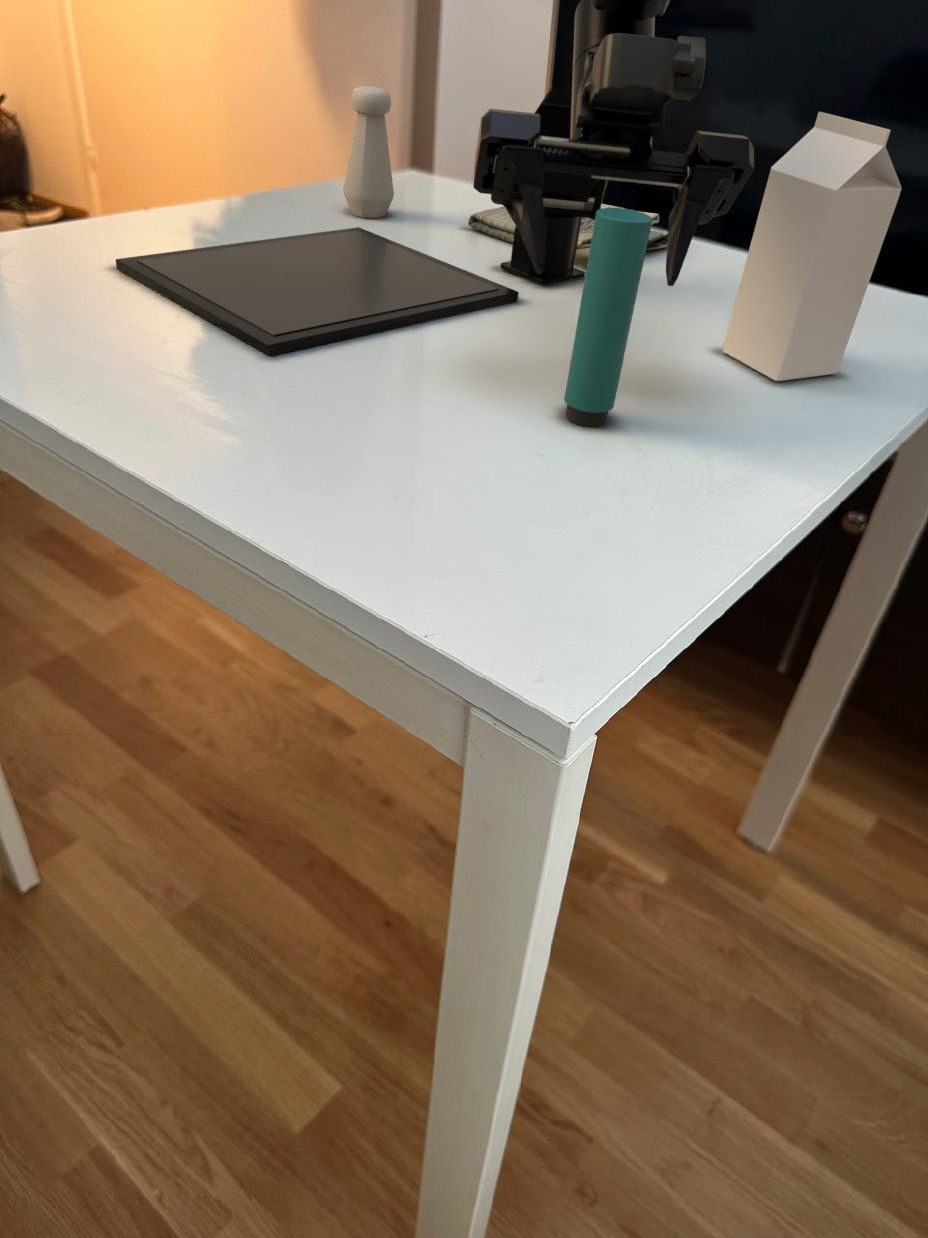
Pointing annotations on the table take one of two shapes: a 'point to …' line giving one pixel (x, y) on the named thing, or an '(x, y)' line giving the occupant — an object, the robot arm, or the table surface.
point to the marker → (605, 313)
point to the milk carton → (814, 250)
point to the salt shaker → (369, 155)
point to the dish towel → (503, 228)
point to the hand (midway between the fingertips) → (606, 276)
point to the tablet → (313, 287)
